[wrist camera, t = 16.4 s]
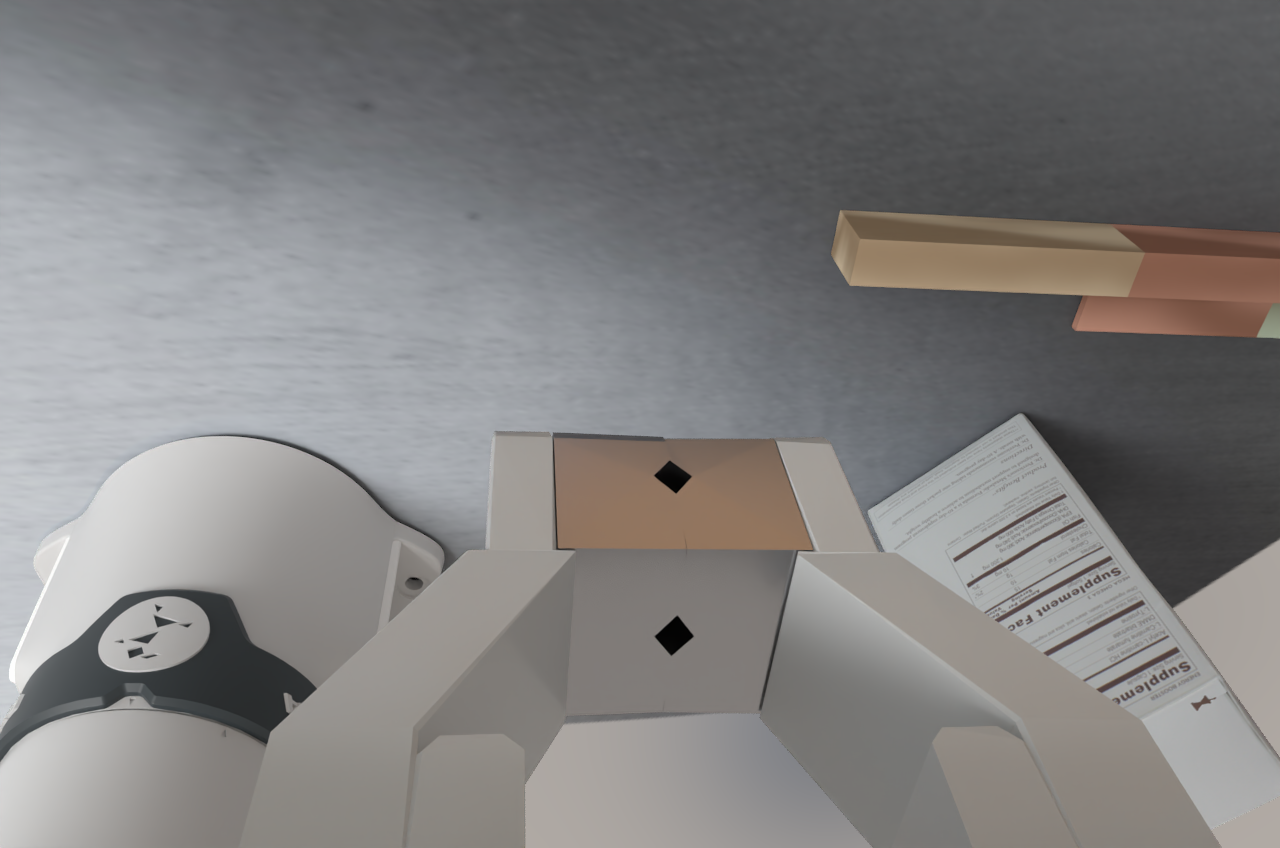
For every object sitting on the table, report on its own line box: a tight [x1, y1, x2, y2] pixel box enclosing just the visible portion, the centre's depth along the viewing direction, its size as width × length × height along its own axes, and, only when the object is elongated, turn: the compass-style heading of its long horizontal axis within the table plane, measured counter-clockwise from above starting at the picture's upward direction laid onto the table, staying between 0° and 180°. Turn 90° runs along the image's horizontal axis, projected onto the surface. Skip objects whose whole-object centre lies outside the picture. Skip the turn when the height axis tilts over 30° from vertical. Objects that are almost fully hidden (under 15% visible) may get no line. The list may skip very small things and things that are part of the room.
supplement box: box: [868, 413, 1280, 830], centre depth 45 cm, size 10×9×17 cm
